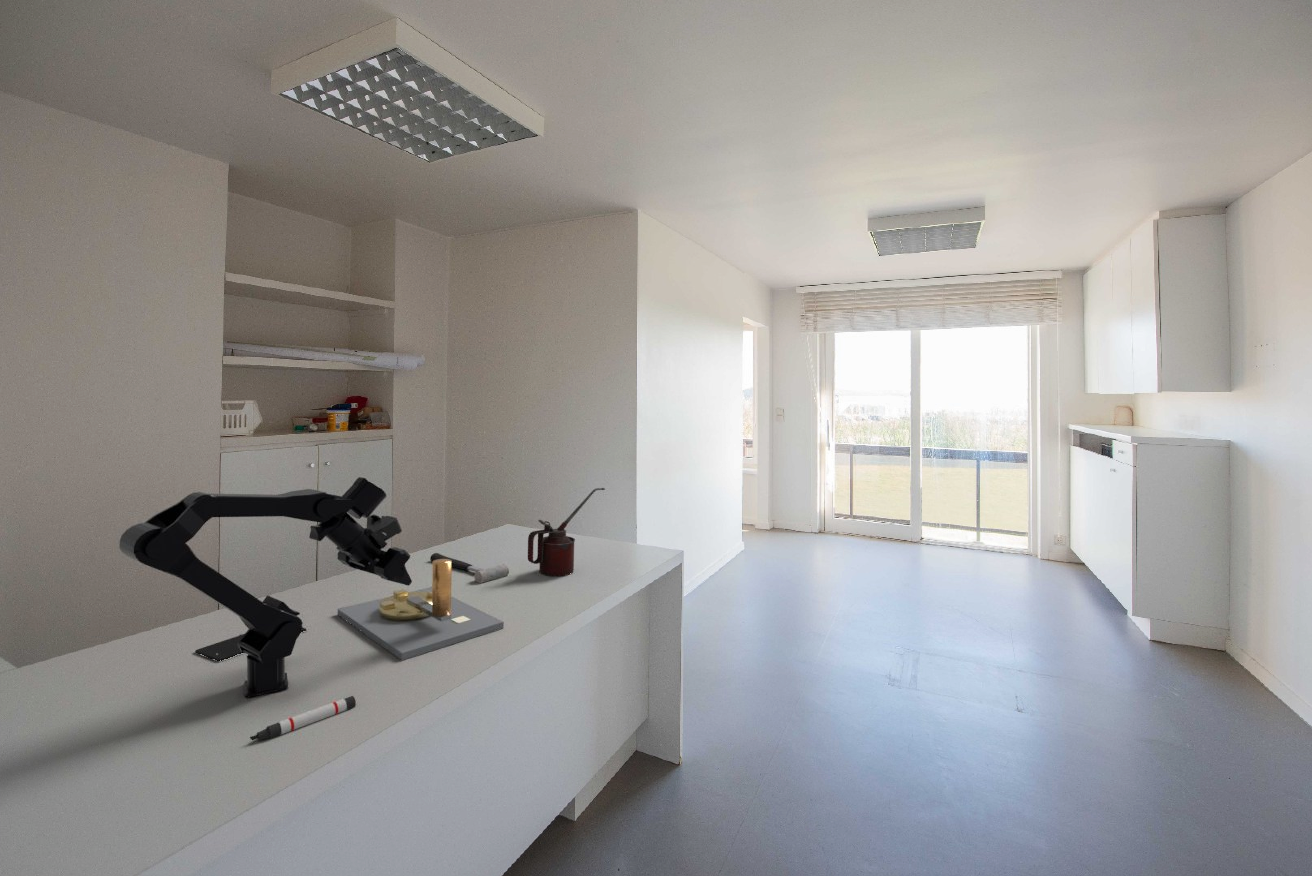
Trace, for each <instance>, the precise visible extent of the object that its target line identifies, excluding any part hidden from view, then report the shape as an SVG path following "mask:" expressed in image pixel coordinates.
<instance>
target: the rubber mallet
mask: <svg viewBox="0 0 1312 876" xmlns="http://www.w3.org/2000/svg"><path fill="white" fill-rule="evenodd" d="M429 558H430V561H431V562H432V563H433V561H434V560H438V559H450V560H451V561H452V567H453V568H457V569H460V570H461V569H462V570H465V571H472V572H474V576H473V577H474V580H475V582H477V583H479V584H483V583H486V582H490V581H493V580H496V579H499V578H503V577H506V576H507V577H508V575H509V573H510V572H509V571H510V569H509V567H508V565H507V564H505V563H504V564H500V565H496V566H492V567H489V568H482V567H479V566H475V565H473V564H470V563H468V562H465V561H462V560H458V559H455V558H452V557H449V556H445V555H443V554H440V552H439V553H438V552H435V553H433V554H431V555H430V557H429Z"/></svg>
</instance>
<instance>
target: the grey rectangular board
mask: <svg viewBox="0 0 1312 876" xmlns="http://www.w3.org/2000/svg"><path fill="white" fill-rule="evenodd" d="M429 591H432V586H430V587H425V588H422V589H417V590H413V591H411V592H429ZM388 597H389V596H386V597H383V598H378V599H373V600H370V601H365V602H361V603H356V604H353V605H347V606H343V607H340V608H337V615H338V617H340V616H341V617H342V618H341V617H340V618H341V619H343V620H344V619H345V620H344V621H346V620H347V621H348V622H347V621H346V622H347V623H349V622H350V623H351V624H353V625H354V626H355V627H354V626H353V625H352V626H353V627H354V628H355V629H357V630H358V629H359V631H360V630H361V631H362V632H361V631H360V632H361V633H362V634H364V633H365V634H364V635H365V636H367V637H368V638H370V639H371V640H372V641H374V642H375V643H377V644H378V645H380V646H381V647H383V649H386V650H387V651H389V652H390V653H391V654H393V655H394V656H395V657H396V658H398V659H400V660H401V661H404V660H408V659H410V658H414V657H417V656H420V655H424V654H427V653H429V652H433V651H436V650H439V649H442V648H445V647H449V646H451V645H454V644H458V643H460V642H465V641H467V640H470V639H473V638H474V639H475V638H476V637H480V636H482V635H486V633H487V634H489V633H493V632H495V630H496V631H499V630H501V629H505V628H504V627H505V625H504V623H505V622H504V621H503V620H501V619H498V618H497V617H495V616H493V615H491V614H488V613H486V612H484V611H483V610H480V609H479V608H477V607H474V606H472V605H471V604H469V603H466V602H463V601H462V600H459V599H458V598H456V597H454V596H452V595H451V619H449V620H446V621H442V622H441V621H439V620H437V619H435V618H433V617H432V616H428V617H425V618H421V619H415V620H403V621H399V620H389V619H386V618H383V617H381V616H380V614H379V604H380V602H381V601H382V600H384V599H386V598H388ZM350 623H349V624H350ZM351 624H350V625H351ZM498 629H499V630H498Z"/></svg>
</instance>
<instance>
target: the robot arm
mask: <svg viewBox="0 0 1312 876" xmlns="http://www.w3.org/2000/svg"><path fill="white" fill-rule="evenodd" d="M386 498H387V494H386V492H385V491H384V490H383V488H381V487H379V486H377V485H376V484H374V483H373V482H371V481H369V480H368V479H367V478H365V477H361V476H360V477H359V476H358V477H357V478H356V479H355V481H354V482H353V483H352V485H351V486H350V487H349V488H348V489H347V490H346V491H345V492H344V494H343V495H341V496H340V495H336V494H333V493H332V492H326V491H322V490H317V489H313V488H306V489H299V490H292V491H288V492H284V493H279V494H257V493H256V494H255V493H253V494H251V493H249V494H247V493H242V494H241V493H206V492H201V491H197V492H196V491H195V492H192V493H190V494H188V495H186V496H185V497H184V498H183V499H181V500H179V501H178V502H177V503H175V504H173V505H171V506H169V507H167V508H165V509H163V510H162V511H161V510H160V512H158V513H156V514H154V515H153V516H151V517H150V518H148V519H147V520H146V521H144V522H140V523H137V524H135V525H132V526H130V527H129V528H127V529H126V530H125V531H124V532H123V533H122V534H121V536H120V539H119V547H118V548H119V550H120V552H121V553H122V554H124V555H125V556H126V557H128V558H130V559H132V560H134V561H137V562H138V563H141V564H143V565H145V566H148V567H150V568H152V569H155V570H158V571H161V572H163V573H166V574H169V575H171V576H174V577H176V578H177V579H179V580H181V581H182V582H184V583H186V584H187V585H188V586H190V587H192V588H193V589H195V590H196V591H198V592H200V593H202V594H203V595H205V596H206V597H208V598H209V599H210V600H212V601H214V602H216V603H217V604H219V605H220V606H221V607H224V608H225V609H226V610H228V611H230V612H232V613H233V614H234V615H236V616H238V617H239V619H240V620H241V622H242V623H243V624H244V625H245V627H246V628H247V631H246V632H245V633H243V634H244V635H243V636H242V638H241V639H240V640H239V641H238V642H237V644H238V646H239V648H240V650H241V652H244V653H245V654H246V677H247V679H246V680H244V694H243V695H244V698H245V699H246V698H251V697H256V696H261V695H265V694H270V693H275V692H279V691H284V690H287V689H289V682H288V681H289V680H288V672H286V664H285V663H286V662H285V661H286V660H285V659H286V658H287V657H290V656H291V655H292V654H293V650H294V648H295V645H296V642H297V639H298V638H299V637H300V635H301V634H302V633H301V630H302V627H303V624H304V622H303V621H302V619H301V618H300V616H299V615H300V614H301V613H300V611H297V610H294V609H292V608H291V607H289V606H288V605H287V604H286V602H284V601H282V600H279V599H277V598H275V597H273V596H270V595H266V596H265V598H264V599H263V600H260V599H259V598H257V597H256V596H254V595H252V594H251V593H249V592H248V591H246V590H245V589H244V588H242V587H241V586H239V585H238V584H237V583H234V581H232V580H231V579H229V578H227V577H226V576H224V575H223V574H221V573H220V572H218V571H217V570H215V569H214V568H212V567H211V566H209V565H208V564H206V563H205V562H203V561H202V560H201V559H199V557H198V556H197V555H196V554H195V553H194V551H193V550H192V549H191V547H190V546H189V545H188V544H187V542H189V541H190V540H192V539H193V538H194V537H195V535H197V533H199V531H200V530H201V529H202V527H203V526H204V525H205V524H206V523H207V522H208V521H209V520H211V519H212V518H249V517H250V518H251V517H253V518H257V517H258V518H260V517H267V518H268V517H286V518H291V519H295V520H296V519H297V520H300V521H309V522H313V523H317V524H315V525H311V526H310V528H309V529H310V531H309V539H310V540H313V541H316V542H321V541H323V540H324V539H325V537H326V538H327V539H328V540H330V541H331V542H332V543H333V545H335V546H336V548H335V549H336V550H338V552H337V560H338V561H339V562H340V563H341V564H343V565H346V566H347V567H350V568H353V569H355V570H359V571H363V572H367V573H369V574H373V575H375V576H379V577H380V579H383V580H385V581H388V582H393V583H397V584H401V585H405V586H408V587H409V586H410V585H411V584H412V582H413V581H412V579H411V576H410V574H409V572H408V571H407V568H406V564H407V562H408V561H409V560H410V559H411V554H410V553H409V552H408V551H406V550H405V549H402V548H399V547H396V546H394V547H389V548H388V549H387V551H386V550H382V549H384V548H386V546H387V545H388V543H387V541H388V540H389V539H391V538H393V537H394V536H396V535H399V534H401V533H402V532H403V530H402V527H401V525H400V523H399V519H398V518H397V517H394V516H390V515H386V516H385V515H381V516H379V515H377V514H373V513H374V512H375V510H376V509H377V508H378V507H379V506H380V504H382V502H383V501H384V500H385V499H386ZM354 518H355V519H357V520H360V519H361V518H365V519H366V527H365V528H364V527H363V526H362V525H361V524H360V523H359V522H357V520H355V519H354ZM300 633H301V634H300Z"/></svg>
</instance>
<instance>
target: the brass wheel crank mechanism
mask: <svg viewBox="0 0 1312 876" xmlns="http://www.w3.org/2000/svg"><path fill="white" fill-rule="evenodd" d="M452 567H453V566H452V561H451V560H450V559H438V560H434V561H433V562H432V581H431V583H432V586H431V587H432V591H429V592H412V591H409V592H408V591H407V590H405V589H403V588H402V589H398V590H393V593H392V594H393V595H391V596H387V597H388V598H386V597H385V598H386V599H384V600H382V601H381V602H380V604H379V614H380V616H381V617H383V618H386V619H389V620H399V621H403V620H415V619H421V618H425V617H428V616H432V617H433V618H435V619H437V620H439V621H441V622H442V621H446V620H449V619H451V596H452Z"/></svg>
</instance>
